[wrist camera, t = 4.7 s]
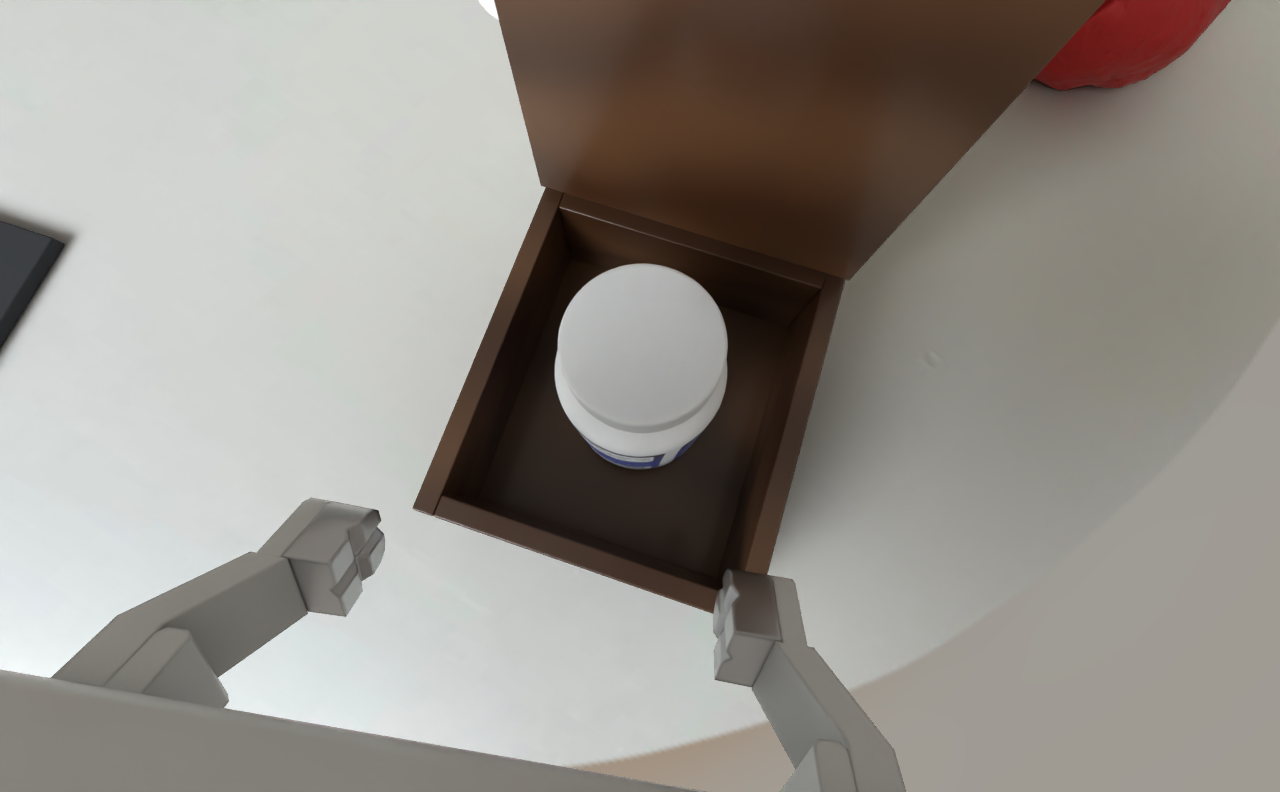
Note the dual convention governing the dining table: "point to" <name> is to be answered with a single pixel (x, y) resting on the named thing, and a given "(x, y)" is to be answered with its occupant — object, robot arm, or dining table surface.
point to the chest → (593, 487)
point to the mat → (21, 270)
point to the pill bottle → (641, 364)
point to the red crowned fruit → (1129, 42)
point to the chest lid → (772, 107)
